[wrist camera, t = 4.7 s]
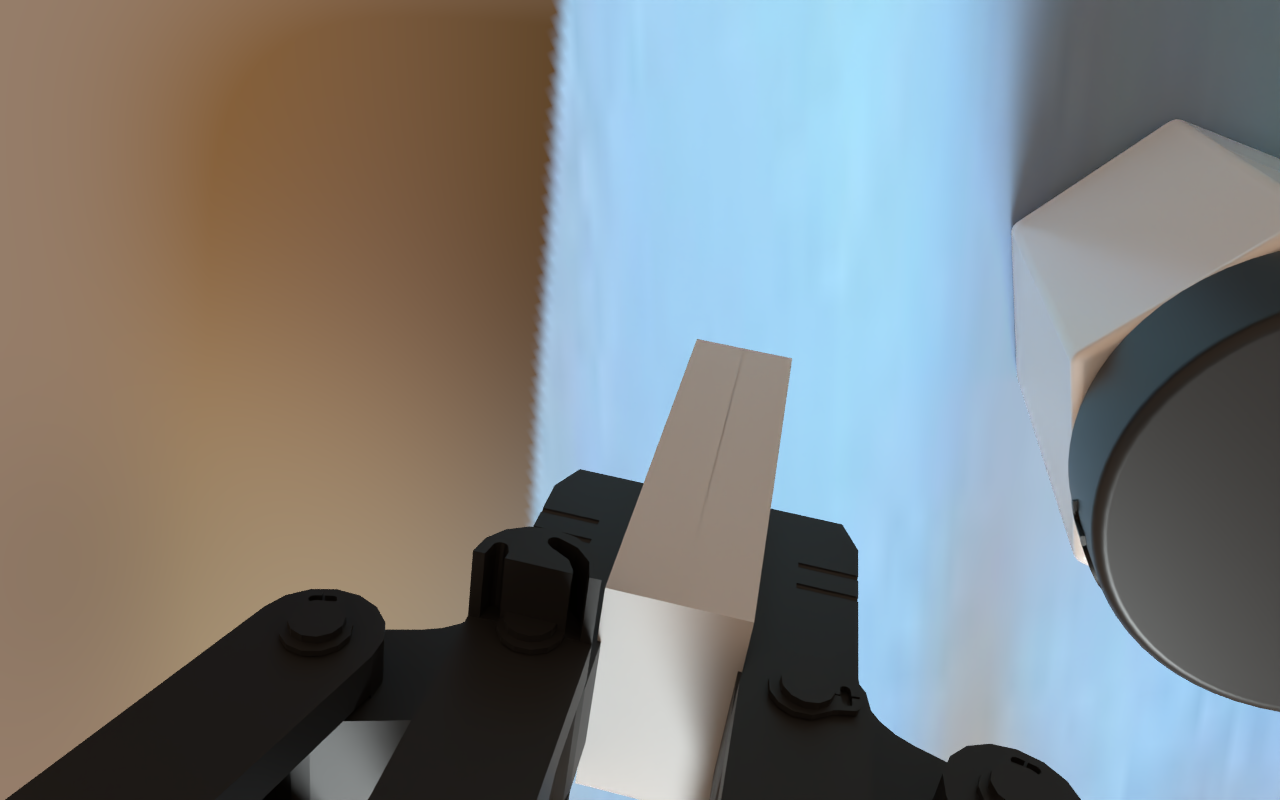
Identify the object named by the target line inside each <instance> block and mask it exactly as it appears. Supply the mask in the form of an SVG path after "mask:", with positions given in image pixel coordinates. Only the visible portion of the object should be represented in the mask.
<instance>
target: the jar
mask: <svg viewBox="0 0 1280 800" xmlns="http://www.w3.org/2000/svg"><path fill="white" fill-rule="evenodd" d="M1011 239H1012V264H1013V289H1014V314H1015V340H1016V365H1017V379H1018V383H1019V386H1020V389H1021V392H1022V395H1023V398H1024V401H1025V404H1026V408H1027V411H1028V414H1029V417H1030V420H1031V423H1032V426H1033V429H1034V433H1035V436H1036V439H1037V442H1038V445H1039V448H1040V451H1041V454H1042V458H1043V461H1044V464H1045V467H1046V470H1047V473H1048V476H1049V480H1050V483H1051V486H1052V489H1053V492H1054V495H1055V498H1056V501H1057V505H1058V508H1059V511H1060V514H1061V517H1062V520H1063V523H1064V526H1065V530H1066V533H1067V536H1068V539H1069V542H1070V545H1071V548H1072V551H1073V554H1074V556H1075V558H1076V559H1077V560H1078V561H1079V562H1081V563H1083V564H1085V565H1088V566H1089V567H1090V570H1091V572H1092V574H1093V576H1094V578H1095V580H1096V582H1097V583H1098V585H1099V586H1100V588H1101V589H1102V591H1103V593H1104V595H1105V597H1106V599H1107V601H1108V603H1109V605H1110V607H1111V608H1112V610H1113V612H1114V613H1115V615H1116V616H1117V618H1118V619H1119V621H1120V622H1121V623H1122V625H1123V626H1124V627H1125V629H1126V630H1127V631H1128V632H1129V634H1130V635H1131V636H1132V637H1133V638H1134V639H1135V640H1136V641H1137V642H1138V643H1139V644H1140V646H1141V647H1142V648H1143V649H1145V650H1146V651H1147V652H1148V653H1149V654H1150V655H1152V656H1153V657H1154V658H1155V659H1156V660H1157V661H1159V662H1160V663H1161V664H1163V665H1164V666H1166V667H1167V668H1168V669H1170V670H1171V671H1173V672H1174V673H1176V674H1177V675H1179V676H1181V677H1183V678H1184V679H1186V680H1188V681H1190V682H1191V683H1193V684H1195V685H1197V686H1200V687H1202V688H1204V689H1206V690H1208V691H1210V692H1212V693H1215V694H1218V695H1220V696H1223V697H1226V698H1229V699H1231V700H1234V701H1237V702H1241V703H1244V704H1248V705H1252V706H1255V707H1259V708H1264V709H1269V710H1274V711H1279V712H1280V159H1279V158H1277V157H1274V156H1272V155H1269V154H1267V153H1264V152H1262V151H1259V150H1257V149H1254V148H1252V147H1249V146H1246V145H1244V144H1241V143H1239V142H1236V141H1234V140H1231V139H1229V138H1226V137H1224V136H1221V135H1219V134H1216V133H1214V132H1211V131H1209V130H1206V129H1204V128H1201V127H1199V126H1196V125H1194V124H1191V123H1189V122H1186V121H1184V120H1180V119H1174V120H1172V121H1169V122H1167V123H1166V124H1164V125H1163V126H1161V127H1160V128H1158V129H1157V130H1155V131H1154V132H1152V133H1151V134H1149V135H1148V136H1146V137H1145V138H1143V139H1142V140H1140V141H1139V142H1137V143H1136V144H1134V145H1133V146H1131V147H1130V148H1128V149H1127V150H1125V151H1124V152H1122V153H1121V154H1119V155H1118V156H1116V157H1115V158H1113V159H1112V160H1110V161H1109V162H1107V163H1106V164H1104V165H1103V166H1101V167H1100V168H1098V169H1096V170H1095V171H1093V172H1092V173H1090V174H1089V175H1087V176H1086V177H1084V178H1083V179H1081V180H1080V181H1078V182H1077V183H1075V184H1074V185H1072V186H1071V187H1069V188H1068V189H1066V190H1065V191H1063V192H1062V193H1060V194H1059V195H1057V196H1056V197H1054V198H1053V199H1051V200H1050V201H1048V202H1047V203H1045V204H1044V205H1042V206H1041V207H1039V208H1038V209H1036V210H1035V211H1033V212H1032V213H1030V214H1029V215H1027V216H1026V217H1024V218H1023V219H1021V220H1020V221H1018V222H1017V223H1015V225H1014V226H1013V228H1012V231H1011Z"/></svg>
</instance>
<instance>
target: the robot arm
mask: <svg viewBox="0 0 1280 800" xmlns="http://www.w3.org/2000/svg"><path fill="white" fill-rule="evenodd" d="M791 362H792V358H787V357H782V356H777V355H772V354H767V353H762V352H758V351H753V350H748V349H743V348H738V347H733V346H728V345H723V344H718V343H714V342H709V341H704V340H699V339H697V341H696V344H695V346H694V349H693V352H692V354H691V357H690V360H689V362H688V365H687V368H686V371H685V373H684V376H683V379H682V381H681V384H680V387H679V390H678V392H677V395H676V398H675V400H674V403H673V406H672V408H671V411H670V414H669V417H668V419H667V422H666V425H665V427H664V430H663V433H662V435H661V438H660V441H659V444H658V446H657V449H656V452H655V454H654V457H653V460H652V462H651V465H650V468H649V471H648V473H647V476H646V479H645V481H644V483H640V482H635V481H631V480H626V479H622V478H617V477H613V476H608V475H603V474H599V473H594V472H590V471H585V470H581V469H580V470H578V471H577V472H575V473H573V474H572V475H570V476H569V477H567V478H566V479H564V480H562V481H561V482H559V483H558V484H556V485H555V486H554V488H553V490H552V492H551V494H550V496H549V498H548V499H547V501H546V503H545V505H544V507H543V511H542V512H541V513H540V515H539V517H538V519H537V521H536V522H535V524H534V527H523V528H515V529H506V530H504V531H501V532H499V533H497V534H494V535H492V536H489V537H487V538H486V539H484V540H483V542H482V543H480V544H479V545H478V546H477V547H476V549H474V550H473V559H472V560H473V561H472V572H471V586H470V598H469V612H468V617H467V619H466V621H465V622H463V623H461V624H457V625H453V626H449V627H445V628H439V629H426V630H385V621H384V619H383V618H382V616H381V614H380V612H379V610H378V609H377V607H376V606H374V605H373V604H371V603H370V602H368V601H367V600H366V599H364V598H363V597H361V596H359V595H356V594H352V593H348V592H345V591H341V590H337V589H335V590H334V589H310V590H306V591H301V592H297V593H293V594H288V595H285V596H283V597H281V598H279V599H278V600H276V601H274V602H272V603H270V604H268V605H266V606H265V607H263V608H262V609H260V610H259V611H258V612H256V613H255V614H254V615H252V616H251V617H250V618H248V619H247V620H246V621H244V622H243V623H242V624H240V625H239V626H238V627H236V628H235V629H234V630H232V631H231V632H230V633H228V634H227V635H226V636H224V637H223V638H222V639H220V640H219V641H217V642H216V643H215V644H213V645H212V646H211V647H210V648H208V649H207V650H205V651H204V652H203V653H201V654H200V655H199V656H197V657H196V658H195V659H193V660H192V661H191V662H189V663H188V664H187V665H186V666H184V667H183V668H181V669H180V670H179V671H177V672H176V673H175V674H173V675H172V676H171V677H169V678H168V679H167V680H165V681H164V682H163V683H161V684H160V685H158V686H157V687H156V688H154V689H153V690H152V691H150V692H149V693H148V694H146V695H145V696H144V697H143V698H141V699H140V700H138V701H137V702H136V703H134V704H133V705H132V706H130V707H129V708H128V709H126V710H125V711H124V712H122V713H121V714H120V715H118V716H117V717H116V718H114V719H113V720H111V721H110V722H109V723H107V724H106V725H105V726H104V727H102V728H101V729H99V730H98V731H97V732H95V733H94V734H93V735H92V736H90V737H89V738H87V739H86V740H85V741H83V742H82V743H81V744H79V745H78V746H77V747H75V748H74V749H73V750H71V751H70V752H69V753H67V754H66V755H65V756H63V757H62V758H61V759H59V760H58V761H56V762H55V763H54V764H52V765H51V766H50V767H48V768H47V769H46V770H44V771H43V772H42V773H40V774H39V775H38V776H37V777H35V778H34V779H32V780H31V781H30V782H28V783H27V784H26V785H24V786H23V787H22V788H20V789H19V790H18V791H16V792H15V793H14V794H12V795H11V796H10V797H8V798H7V799H6V800H569V794H570V789H571V786H572V783H573V780H574V777H575V774H576V770H577V776H576V782H575V783H577V784H581V785H585V786H589V787H592V788H596V789H600V790H604V791H608V792H612V793H616V794H620V795H624V796H628V797H632V798H635V799H639V800H1081V799H1080V798H1079V797H1078V795H1077V794H1076V793H1075V791H1074V790H1073V788H1072V787H1071V786H1070V784H1069V783H1068V782H1067V781H1066V780H1065V779H1064V778H1062V777H1061V776H1060V775H1059V774H1057V773H1056V772H1055V771H1054V770H1052V769H1051V768H1050V767H1049V766H1047V765H1046V764H1045V763H1044V762H1042V761H1040V760H1037V759H1035V758H1033V757H1031V756H1029V755H1027V754H1025V753H1023V752H1021V751H1019V750H1017V749H1012V748H1007V747H1002V746H998V745H993V744H983V745H973V746H966V747H965V748H963V749H961V750H960V751H958V752H956V753H955V754H953V755H951V756H950V758H949V760H948V762H945V761H943V760H941V759H939V758H937V757H935V756H933V755H931V754H929V753H927V752H925V751H923V750H921V749H919V748H917V747H915V746H913V745H912V744H910V743H908V742H907V741H905V740H903V739H902V738H900V737H898V736H897V735H895V734H894V733H893V732H892V731H890V730H889V729H888V728H887V727H886V726H884V725H883V724H882V723H881V722H880V721H879V720H878V719H877V718H876V716H875V715H874V714H873V713H872V712H871V710H870V706H869V702H868V699H867V695H866V692H865V691H864V690H863V689H862V687H861V686H860V685H859V681H858V602H857V599H858V581H857V578H858V550H857V548H856V546H855V545H854V543H853V541H852V540H851V538H850V537H849V535H848V533H847V532H846V530H845V529H844V527H843V525H842V524H837V523H833V522H828V521H824V520H819V519H815V518H810V517H806V516H801V515H797V514H792V513H788V512H783V511H779V510H774V509H770V508H771V501H772V495H773V488H774V481H775V474H776V467H777V460H778V453H779V446H780V439H781V432H782V425H783V418H784V411H785V404H786V397H787V390H788V383H789V376H790V369H791ZM577 767H578V769H577Z"/></svg>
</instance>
